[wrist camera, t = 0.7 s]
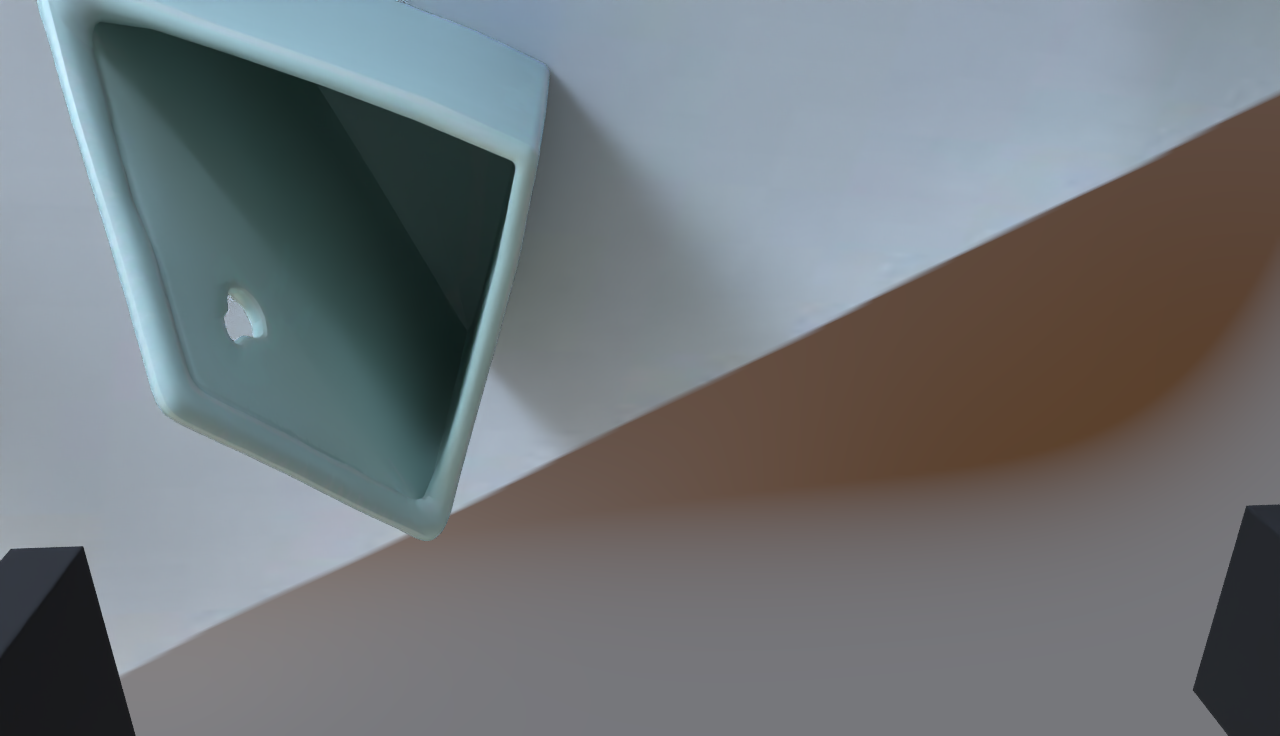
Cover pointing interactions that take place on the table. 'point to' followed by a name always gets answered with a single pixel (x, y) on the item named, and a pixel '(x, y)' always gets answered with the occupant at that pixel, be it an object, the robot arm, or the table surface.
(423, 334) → the planter
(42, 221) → the table surface
